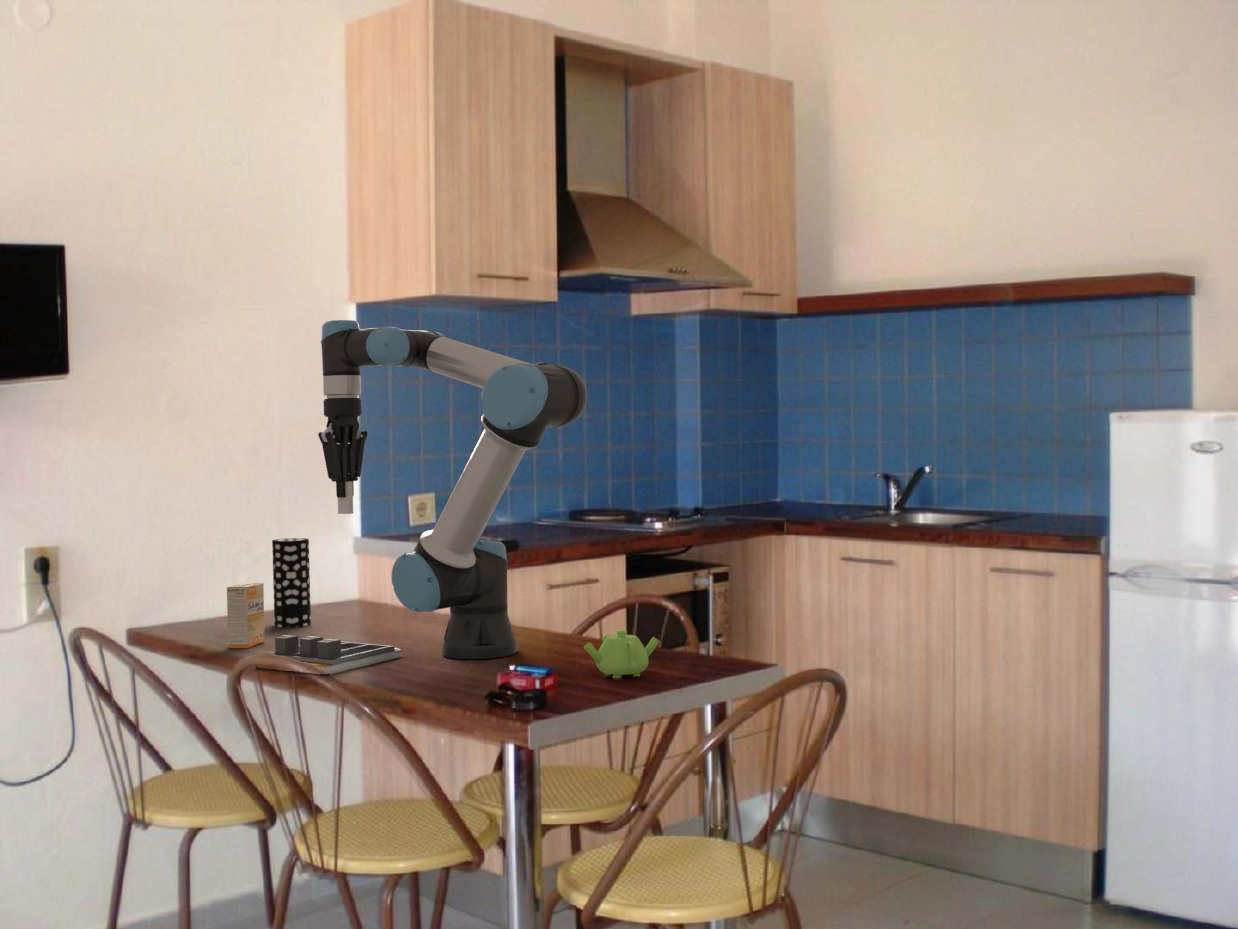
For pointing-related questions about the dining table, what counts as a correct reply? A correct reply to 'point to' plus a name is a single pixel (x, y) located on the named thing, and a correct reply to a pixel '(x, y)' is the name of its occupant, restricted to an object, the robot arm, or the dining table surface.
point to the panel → (351, 656)
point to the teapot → (622, 654)
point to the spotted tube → (291, 582)
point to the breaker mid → (309, 646)
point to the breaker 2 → (329, 649)
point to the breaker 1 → (286, 645)
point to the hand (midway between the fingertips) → (345, 513)
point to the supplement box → (245, 615)
